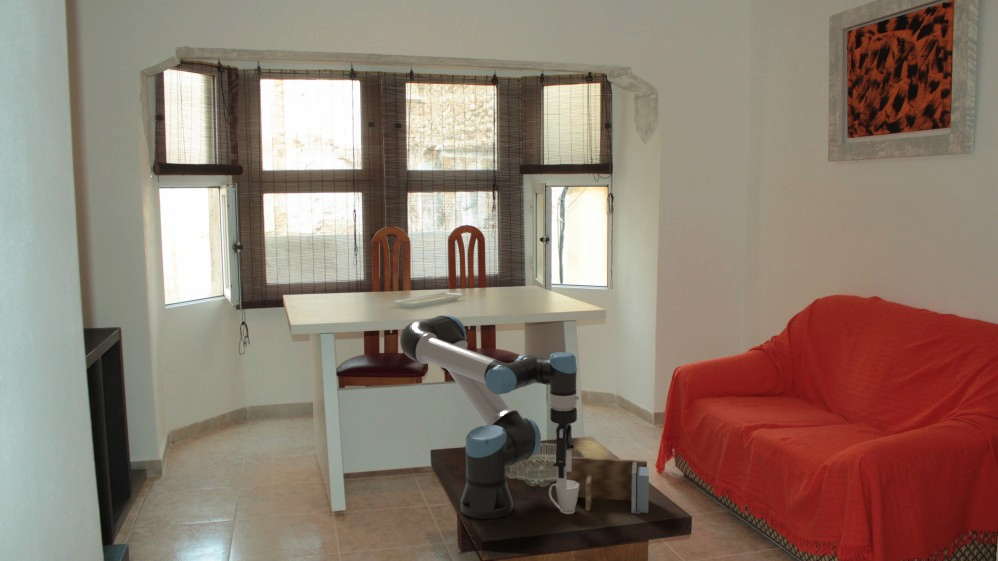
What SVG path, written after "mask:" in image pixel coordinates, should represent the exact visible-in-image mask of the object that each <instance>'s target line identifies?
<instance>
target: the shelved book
mask: <svg viewBox="0 0 998 561" xmlns="http://www.w3.org/2000/svg"><path fill="white" fill-rule="evenodd" d="M649 478H650V467H648V466H647V467H638V472H637V510H640V514H641V513H644V514H645V513H646V514H648V513H649V495H650V492H649V488H650V487H649V486H650V482H649V481H650V479H649Z"/></svg>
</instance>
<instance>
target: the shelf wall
mask: <svg viewBox="0 0 998 561" xmlns="http://www.w3.org/2000/svg"><path fill="white" fill-rule="evenodd" d="M571 460H572V471H571V472H568V471H567V480H572V481H576V482H577V483H579V484H580V485H579V492H578V498H585V499H586V481H587V476H588V474H592V499H603V500H618V501H619V500H621V501H632V465H633V462H637V472H638V467H648V461H647V460H640V459H639V460H637V459H636V460H634V459H622V458H621V459H619V458H602V457H583V456H571Z"/></svg>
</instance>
